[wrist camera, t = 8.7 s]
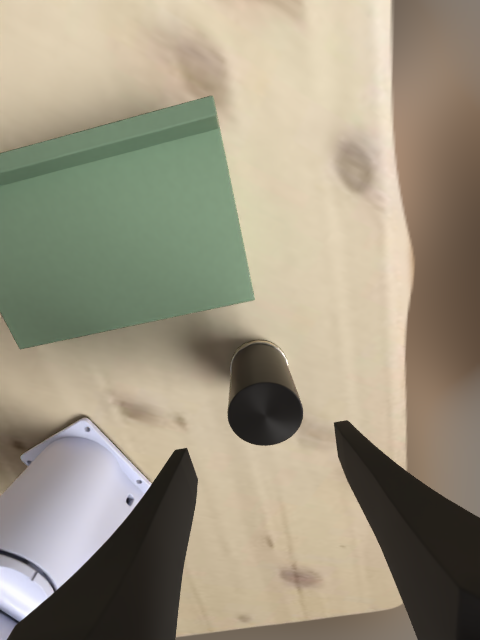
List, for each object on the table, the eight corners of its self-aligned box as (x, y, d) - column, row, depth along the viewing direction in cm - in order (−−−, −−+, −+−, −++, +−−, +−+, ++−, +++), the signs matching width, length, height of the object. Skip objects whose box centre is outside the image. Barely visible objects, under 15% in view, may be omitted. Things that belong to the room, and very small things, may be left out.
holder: (297, 374, 20) (319, 426, 15) (249, 399, 21) (252, 458, 16) (269, 329, 19) (280, 366, 14) (219, 358, 20) (210, 404, 14)
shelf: (252, 290, 18) (256, 306, 14) (51, 333, 20) (-2, 359, 15) (220, 134, 16) (212, 94, 11) (-14, 195, 17) (-102, 180, 12)
